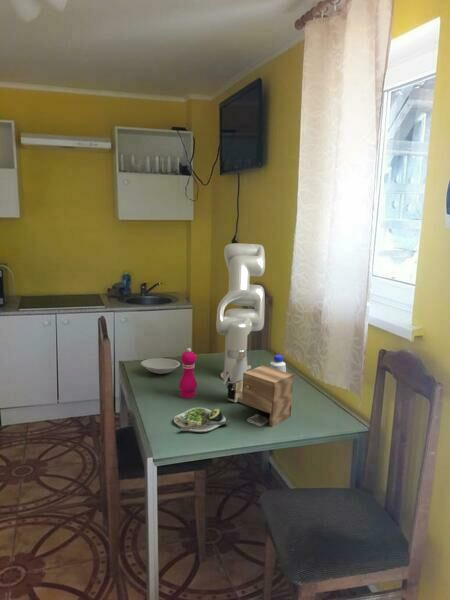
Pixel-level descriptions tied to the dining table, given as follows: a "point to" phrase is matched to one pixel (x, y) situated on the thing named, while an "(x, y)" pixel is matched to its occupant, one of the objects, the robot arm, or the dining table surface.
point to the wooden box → (268, 392)
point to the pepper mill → (188, 375)
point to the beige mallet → (237, 391)
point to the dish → (160, 365)
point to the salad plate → (200, 420)
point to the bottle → (278, 363)
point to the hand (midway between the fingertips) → (234, 396)
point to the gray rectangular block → (258, 420)
